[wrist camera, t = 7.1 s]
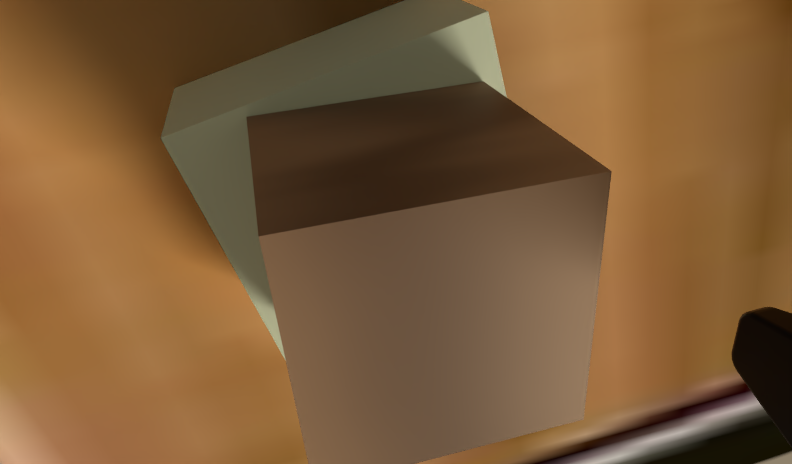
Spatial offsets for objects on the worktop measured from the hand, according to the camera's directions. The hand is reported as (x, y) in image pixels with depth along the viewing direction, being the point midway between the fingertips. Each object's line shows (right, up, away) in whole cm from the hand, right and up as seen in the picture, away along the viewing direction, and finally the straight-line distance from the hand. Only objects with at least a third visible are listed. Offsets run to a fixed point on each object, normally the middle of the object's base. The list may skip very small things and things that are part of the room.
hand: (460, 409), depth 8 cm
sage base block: (-2, +5, +9) cm, 10 cm away
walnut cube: (-1, +3, +5) cm, 6 cm away
